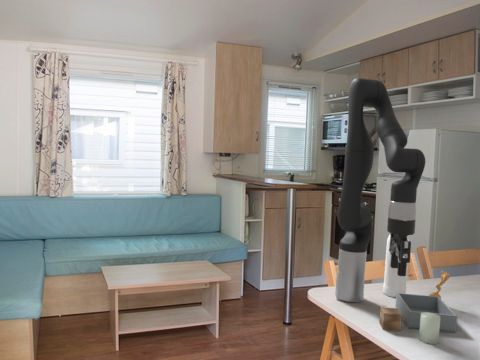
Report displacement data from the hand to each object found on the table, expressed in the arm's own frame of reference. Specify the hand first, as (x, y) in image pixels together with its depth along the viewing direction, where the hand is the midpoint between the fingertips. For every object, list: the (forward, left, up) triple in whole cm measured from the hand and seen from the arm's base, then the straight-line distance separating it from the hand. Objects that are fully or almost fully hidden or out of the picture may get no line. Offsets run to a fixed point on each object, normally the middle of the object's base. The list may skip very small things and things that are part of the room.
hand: (397, 271), depth 130 cm
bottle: (+7, +31, -17) cm, 36 cm away
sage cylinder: (+8, -8, -17) cm, 20 cm away
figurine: (+20, +24, -17) cm, 36 cm away
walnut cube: (-1, -1, -17) cm, 17 cm away
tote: (+11, +8, -17) cm, 21 cm away
